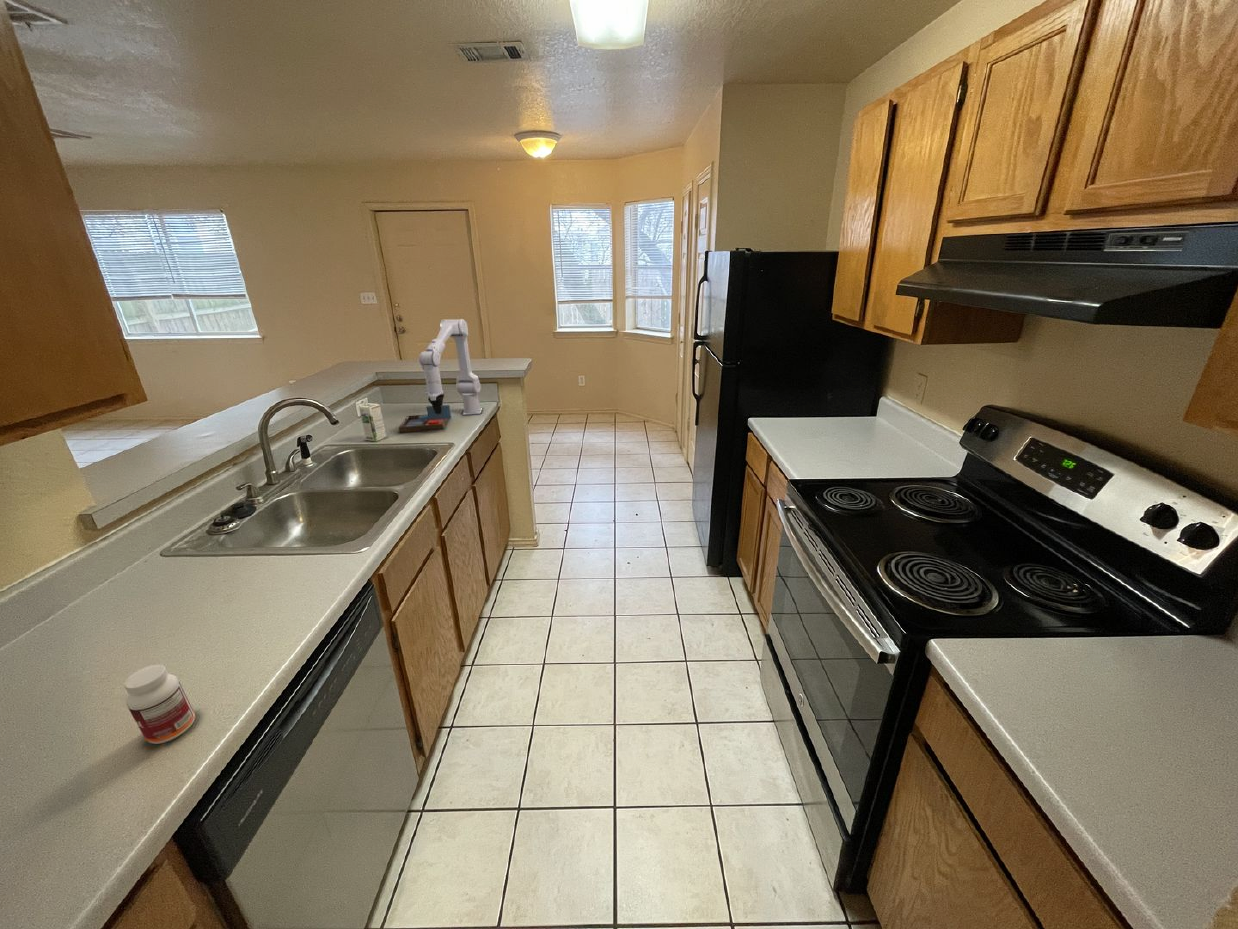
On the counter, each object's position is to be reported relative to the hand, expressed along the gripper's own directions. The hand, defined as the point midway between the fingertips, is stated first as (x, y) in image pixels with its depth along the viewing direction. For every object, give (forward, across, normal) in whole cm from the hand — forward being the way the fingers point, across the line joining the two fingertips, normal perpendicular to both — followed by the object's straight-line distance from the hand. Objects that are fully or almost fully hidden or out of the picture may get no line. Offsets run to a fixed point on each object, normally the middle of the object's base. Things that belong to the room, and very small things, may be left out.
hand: (439, 413), depth 211 cm
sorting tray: (+8, -12, -9) cm, 17 cm away
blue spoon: (+3, 0, -2) cm, 3 cm away
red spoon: (+8, -13, -5) cm, 16 cm away
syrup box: (+9, +2, -26) cm, 27 cm away
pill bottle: (+8, +144, -21) cm, 146 cm away
